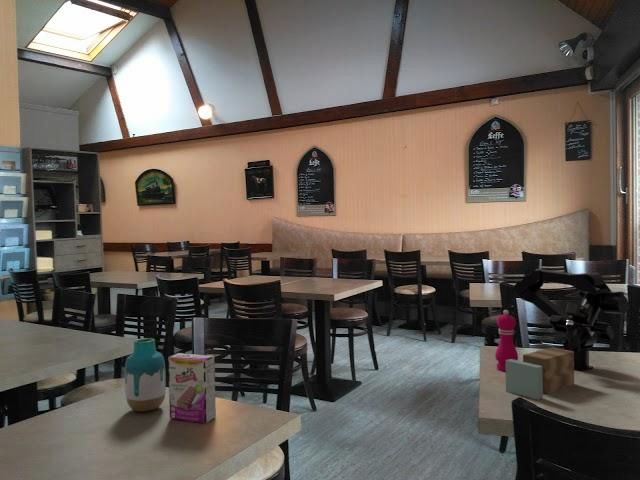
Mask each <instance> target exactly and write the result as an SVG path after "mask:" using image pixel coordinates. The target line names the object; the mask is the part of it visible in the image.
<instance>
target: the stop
mask: <svg viewBox="0 0 640 480" xmlns="http://www.w3.org/2000/svg"><path fill="white" fill-rule="evenodd" d="M505 392H508V393H512V394H515V395H518V396H521V395H524V396H523V397H525V396H527V397H526V398H528V397H529V399H532V398H534V399H533V400H535V399H537V400H536V401H539V400H542V399H543V398H544V397H543V395H544V394H543V380H542V366H540V365H535V364H531V363H526V362H523V360H522V361H521V360H513V359H509V360H506V372H505ZM541 398H542V399H541ZM538 399H539V400H538Z"/></svg>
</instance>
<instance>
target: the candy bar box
mask: <svg viewBox="0 0 640 480" xmlns="http://www.w3.org/2000/svg"><path fill="white" fill-rule="evenodd" d="M167 359H168V363H167V364H168V394H169V395H168V397H169V401H168V402H169V419H170V420H174V419H176V420H175V421H181V420H182V421H183V422H189V421H190V422H191V423H197V422H198V423H199V424H209V423H210V422H212V420H214V419H215V418H216V417H217V415H216V413H217V411H216V406H217V405H216V377H215V376H216V375H215V374H216V372H215V371H216V369H215V368H216V367H215V365H216V364H215V356H214V355H209V354H208V355H207V354H206V355H205V354H193V353H184V352H183V353H182V352H178V353H175V354H172V355H170V356H168V358H167ZM182 421H181V422H182ZM209 421H210V422H209Z"/></svg>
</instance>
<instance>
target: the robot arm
mask: <svg viewBox="0 0 640 480" xmlns="http://www.w3.org/2000/svg"><path fill="white" fill-rule="evenodd" d="M545 282H548V283H555V284H559V285H560V284H561V285H566V286H567V285H568V286H571V287H573V289H574V288H575V289H576V290H579V291H581V292H579V293H578V296H579V297H580V298H581V302H580V304H578V303H571V302H570V303H569V302H568V303H566V306H565V307H566V308H565V311H564V310H563V309H562V308H560V307H559V306H557V304H555V303H554V302H553V301H552V300H550V299H549V298H548V297H547V296H546V295H544V294H543V293H544V292H543V290H542V287H543V286H544V284H545ZM513 291H514V292H513V293H514V295H515V296H516V297H518V298H520V299H521V300H522V301H524V302H527V303H530V304H533V305H534V306H535V307H536V308H537V309H538V310H540V311H541V312H542V313H543V314H545V316H547V317H548V318H549V319H548V323H549V324H550V325H551V327H552V328H553V330H554V331H556V332H558V333H563V334H565V337H566V338H567V339H566V340H565V341H563V343H562V346H563V350H569V351H574V370H577V371H579V372H580V371H586V370H587V371H588V370H591V369H594V366H592V365H590V350H592V349H593V347H594V345H595V344H597V342H598V334H600V338H601V339H602V340H603V341H604V340H605V341H611V342H612V341H613V339H614V337H615V333H614V330H613V328H612V327H611V326H610V324H609V323H608V322H601V321H598V319H599V317H598V315H599V313H600V311H603V313H607V314H608V313H609V314H621V315H624V314H627V312H628V310H629V308H630V307H629V304H630V302H629V301H628V298H627V297H626V296H625V293H624V291H612V289H611V288H610V287H609V286H608V285H607V283H606V282H605V281H604V278H603V276H602V274H600V273H598V272H588V273H587V272H585V273H583V272H582V273H572V272H565V271H557V270H548V269H545V268H542V269H541V268H540V269H539V268H538V269H535V270H533V271H532V272H531V273H530V274H529V275H527V276H525V277H524V278H523V279H522V280H520V281H517V282H516V283H515V284H514V287H513Z"/></svg>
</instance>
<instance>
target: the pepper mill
mask: <svg viewBox="0 0 640 480" xmlns="http://www.w3.org/2000/svg"><path fill="white" fill-rule="evenodd" d="M496 324H497V327H498V334H499V344H498V346H497V348H496V350H495V354H494V357H495V359H496V361H497V362H496V370H498V371H500V372H505V373H506V360H509V359H513V360H517V361H519V354H518V351H517V349H516V346H515V344H514V339H513V338H514V334H515V329H514V328H515V327H516V326H517V325H516V324H517V323H516V319H515V317H514V316H513V315H510V311H509V310H508V309H504V310H503V314H501V315H500V314H499V316H498V317H497V319H496Z"/></svg>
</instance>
